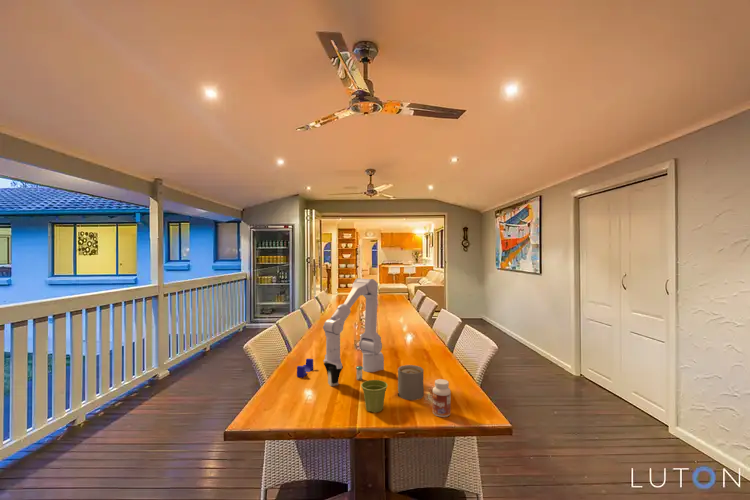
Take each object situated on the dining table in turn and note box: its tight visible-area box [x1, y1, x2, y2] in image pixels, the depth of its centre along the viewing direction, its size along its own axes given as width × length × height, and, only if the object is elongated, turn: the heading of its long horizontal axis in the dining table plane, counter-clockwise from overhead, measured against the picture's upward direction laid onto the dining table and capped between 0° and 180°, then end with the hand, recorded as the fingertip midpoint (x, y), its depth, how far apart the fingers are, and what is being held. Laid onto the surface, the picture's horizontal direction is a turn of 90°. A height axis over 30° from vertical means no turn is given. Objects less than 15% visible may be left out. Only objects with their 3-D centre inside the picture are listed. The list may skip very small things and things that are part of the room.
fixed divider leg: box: [355, 365, 363, 381], centre depth 148 cm, size 3×3×6 cm
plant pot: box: [360, 379, 388, 413], centre depth 123 cm, size 9×9×9 cm
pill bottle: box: [432, 378, 452, 418], centre depth 119 cm, size 6×6×11 cm
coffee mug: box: [397, 364, 424, 401], centre depth 137 cm, size 13×10×10 cm
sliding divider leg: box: [327, 370, 339, 387], centre depth 142 cm, size 3×4×6 cm
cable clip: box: [296, 358, 314, 378], centre depth 156 cm, size 12×4×6 cm, turn 170°
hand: (333, 381), depth 142 cm, fingers closed on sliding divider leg, 4 cm apart
